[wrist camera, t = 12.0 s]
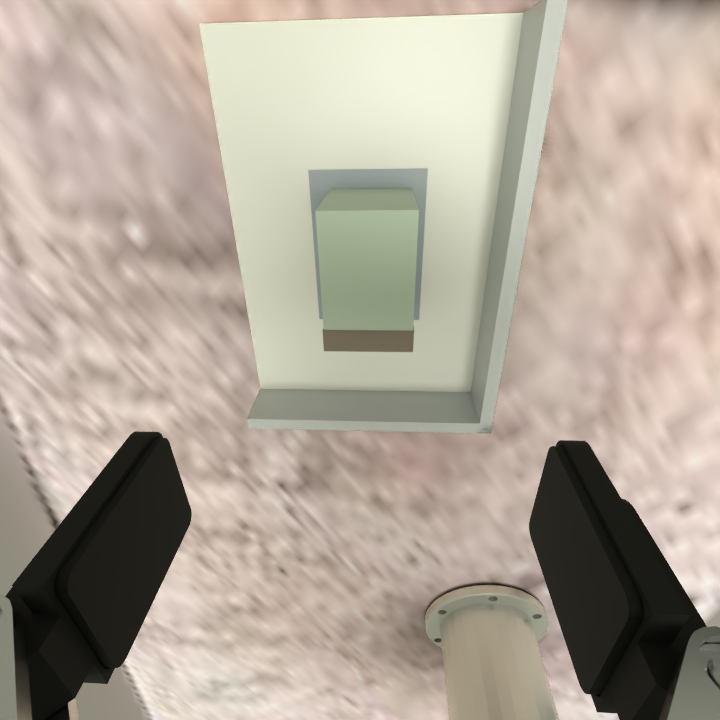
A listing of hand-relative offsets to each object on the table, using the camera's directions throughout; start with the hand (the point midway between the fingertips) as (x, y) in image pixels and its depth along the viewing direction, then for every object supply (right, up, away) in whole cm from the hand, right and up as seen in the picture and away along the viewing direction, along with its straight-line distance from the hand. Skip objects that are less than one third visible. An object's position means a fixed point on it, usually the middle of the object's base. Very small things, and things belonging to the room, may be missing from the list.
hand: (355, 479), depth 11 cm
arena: (+1, +10, +15) cm, 18 cm away
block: (+1, +9, +15) cm, 18 cm away
